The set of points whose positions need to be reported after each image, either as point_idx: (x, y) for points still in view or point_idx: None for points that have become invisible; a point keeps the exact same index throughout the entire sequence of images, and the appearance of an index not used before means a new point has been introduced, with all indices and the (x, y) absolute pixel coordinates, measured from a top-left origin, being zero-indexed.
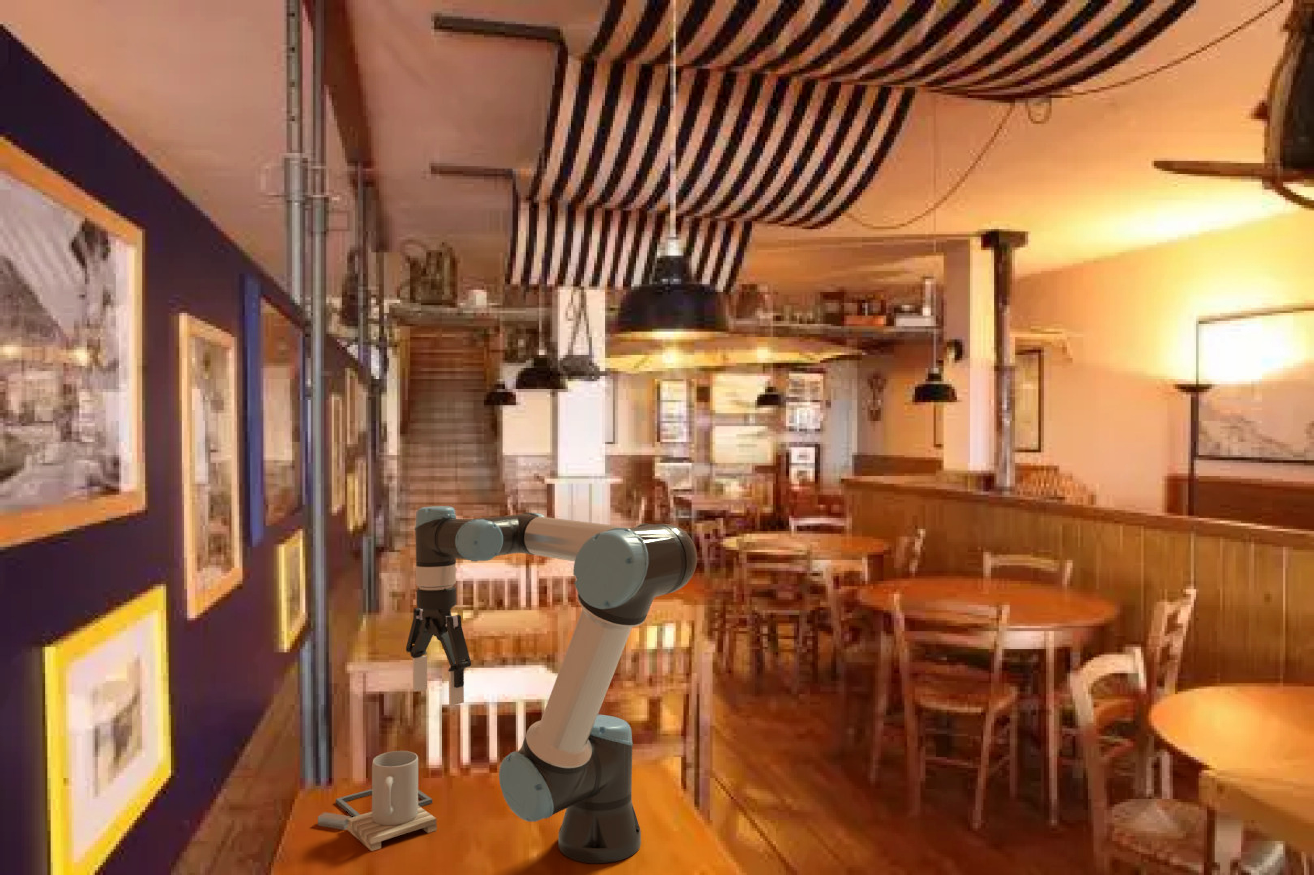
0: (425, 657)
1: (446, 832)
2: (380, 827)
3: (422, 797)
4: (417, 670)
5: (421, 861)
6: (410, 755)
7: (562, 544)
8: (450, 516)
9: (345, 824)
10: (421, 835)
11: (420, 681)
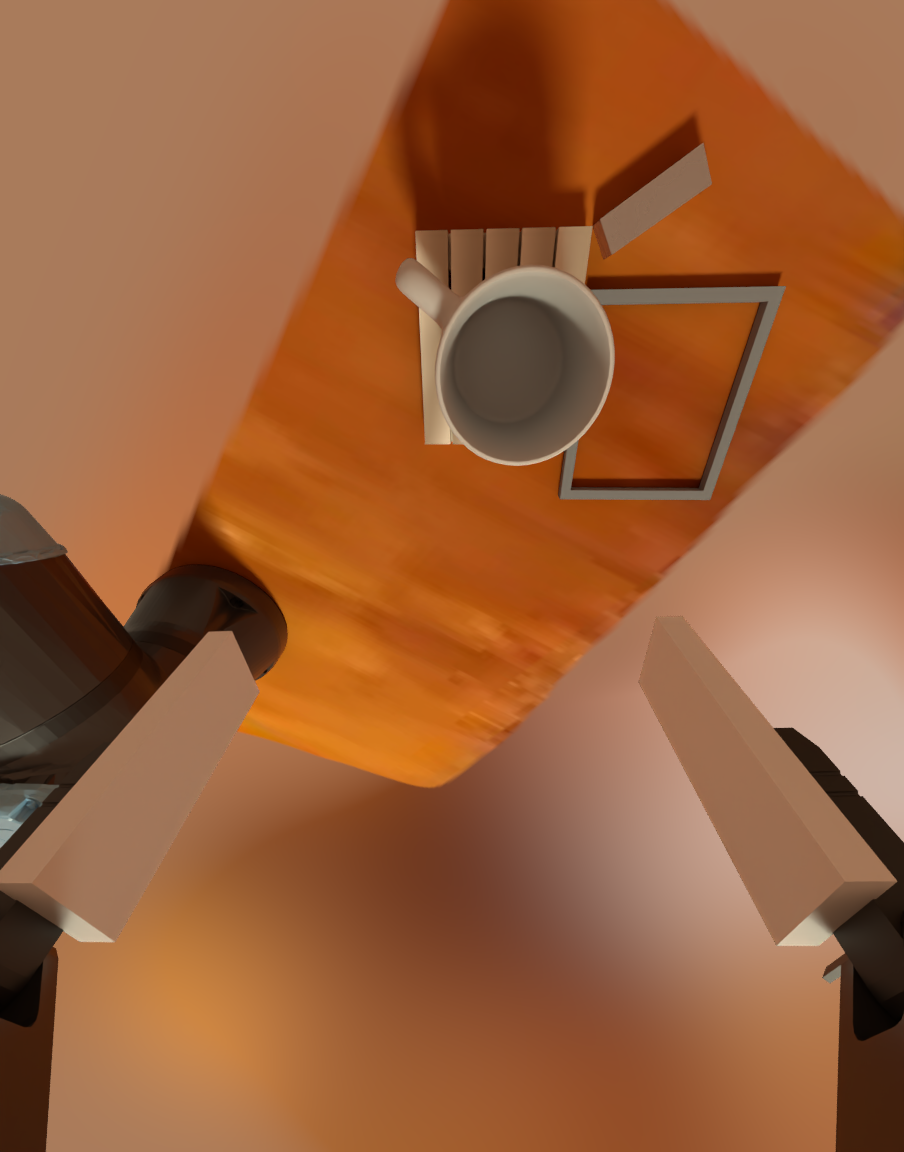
0: (776, 925)
1: (404, 450)
2: (467, 292)
3: (592, 489)
4: (732, 756)
5: (299, 331)
6: (538, 453)
7: None
8: None
9: (598, 228)
10: None
11: (674, 692)
